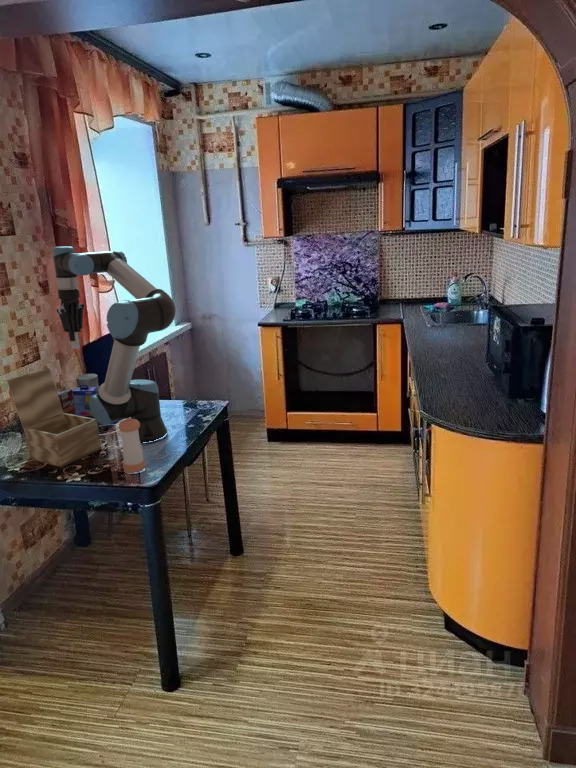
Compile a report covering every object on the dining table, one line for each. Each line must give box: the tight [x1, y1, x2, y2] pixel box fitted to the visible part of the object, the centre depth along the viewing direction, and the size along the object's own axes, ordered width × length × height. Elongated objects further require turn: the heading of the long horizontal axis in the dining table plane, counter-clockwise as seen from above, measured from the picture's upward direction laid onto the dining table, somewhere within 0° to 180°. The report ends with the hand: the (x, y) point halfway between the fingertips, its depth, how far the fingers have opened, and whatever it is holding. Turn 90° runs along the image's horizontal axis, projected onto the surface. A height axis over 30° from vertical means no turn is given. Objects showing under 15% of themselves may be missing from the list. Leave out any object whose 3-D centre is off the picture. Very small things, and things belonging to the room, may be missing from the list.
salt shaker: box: [118, 417, 146, 473], centre depth 188 cm, size 7×7×19 cm
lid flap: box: [6, 368, 64, 428], centre depth 207 cm, size 18×18×1 cm
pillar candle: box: [75, 373, 100, 390], centre depth 264 cm, size 10×10×15 cm
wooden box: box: [22, 413, 102, 468], centre depth 206 cm, size 18×18×12 cm
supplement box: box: [56, 388, 76, 416], centre depth 233 cm, size 9×5×16 cm, turn 168°
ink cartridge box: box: [72, 385, 98, 417], centre depth 249 cm, size 10×6×14 cm, turn 88°
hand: (75, 348), depth 218 cm, fingers closed
